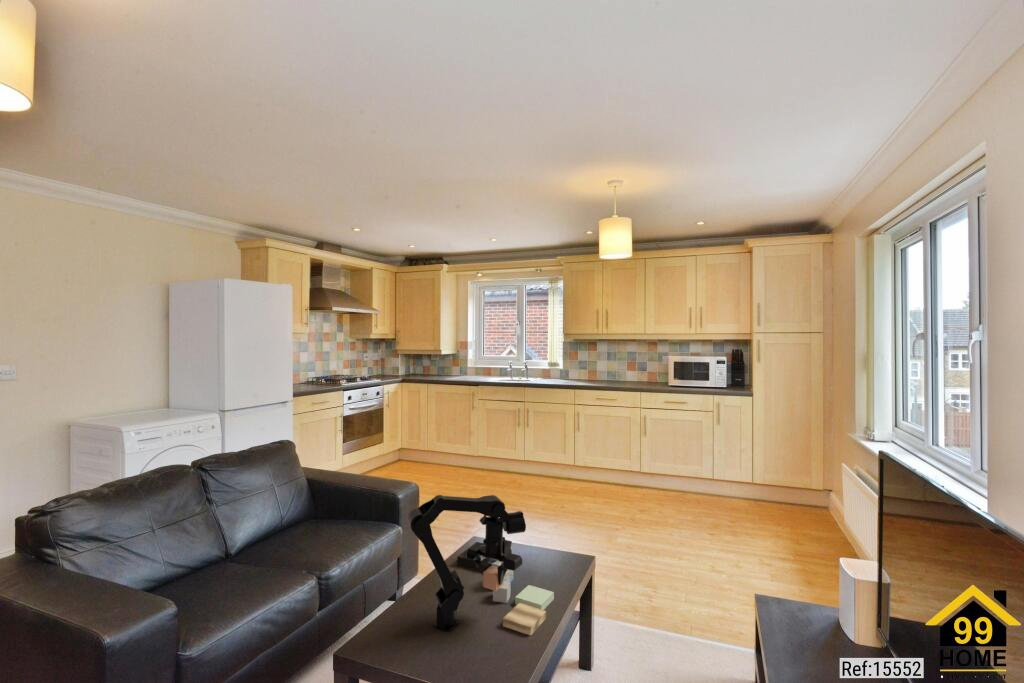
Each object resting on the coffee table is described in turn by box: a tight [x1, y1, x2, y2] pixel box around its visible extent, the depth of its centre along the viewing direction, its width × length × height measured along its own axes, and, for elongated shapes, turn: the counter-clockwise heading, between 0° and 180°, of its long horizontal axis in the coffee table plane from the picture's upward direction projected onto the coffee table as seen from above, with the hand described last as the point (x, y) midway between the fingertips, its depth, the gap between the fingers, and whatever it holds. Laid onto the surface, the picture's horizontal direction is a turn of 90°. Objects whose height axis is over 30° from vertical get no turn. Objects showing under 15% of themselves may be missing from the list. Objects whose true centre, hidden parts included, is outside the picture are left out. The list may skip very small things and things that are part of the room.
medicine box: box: [492, 561, 514, 584], centre depth 188 cm, size 8×4×9 cm, turn 143°
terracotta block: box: [482, 566, 504, 591], centre depth 166 cm, size 5×5×5 cm
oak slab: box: [502, 603, 547, 636], centre depth 163 cm, size 11×10×2 cm
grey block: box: [492, 581, 512, 604], centre depth 177 cm, size 5×5×5 cm
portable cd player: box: [456, 541, 513, 572], centre depth 207 cm, size 16×17×4 cm
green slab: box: [514, 584, 555, 610], centre depth 176 cm, size 10×10×2 cm
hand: (493, 582), depth 166 cm, fingers closed on terracotta block, 5 cm apart
